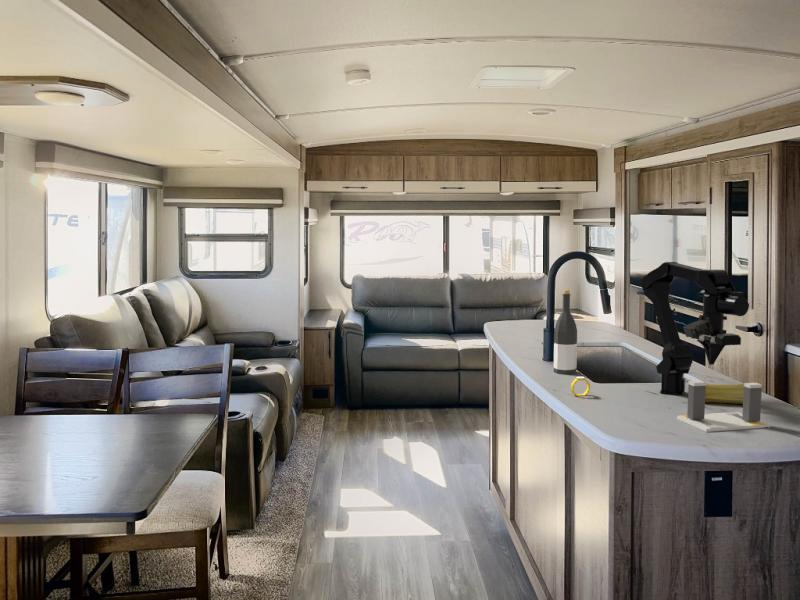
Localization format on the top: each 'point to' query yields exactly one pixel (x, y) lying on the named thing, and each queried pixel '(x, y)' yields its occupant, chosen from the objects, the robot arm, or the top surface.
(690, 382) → the switch
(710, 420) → the switch board
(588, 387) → the yellow ring
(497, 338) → the top surface
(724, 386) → the vase
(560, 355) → the wine bottle
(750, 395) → the switch
